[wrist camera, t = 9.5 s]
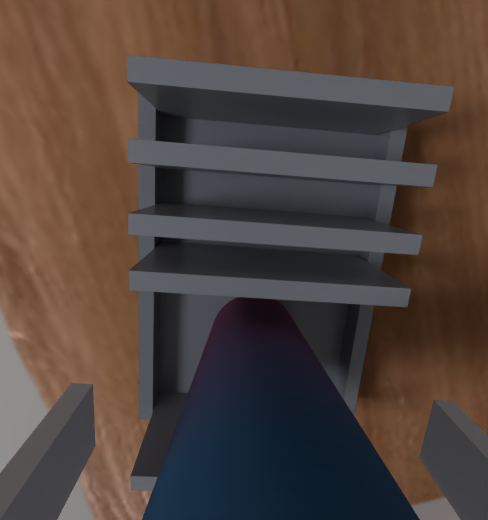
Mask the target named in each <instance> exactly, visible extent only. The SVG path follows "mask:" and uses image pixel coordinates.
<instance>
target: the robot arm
mask: <svg viewBox="0 0 488 520" xmlns="http://www.w3.org/2000/svg"><path fill="white" fill-rule="evenodd" d="M94 447H95V427H94V403H93V384H77V383H71V385H70V386H69V387H68V388H67V390H66V391H65V392H64V394H63V395H62V396H61V397H60V399H59V400H58V401H57V402H56V404H55V405H54V406H53V407H52V409H51V410H50V411H49V412H48V414H47V415H46V416H45V417H44V419H43V420H42V421H41V423H40V424H39V425H38V426H37V428H36V429H35V430H34V431H33V433H32V434H31V435H30V436H29V438H28V439H27V440H26V442H25V443H24V444H23V445H22V447H21V448H20V449H19V450H18V452H17V453H16V454H15V455H14V457H13V458H12V459H11V460H10V462H9V463H8V464H7V465H6V467H5V468H4V469H3V470H2V472H1V473H0V520H57V519H58V517H59V515H60V513H61V511H62V509H63V507H64V505H65V503H66V501H67V499H68V497H69V495H70V493H71V491H72V490H73V488H74V486H75V484H76V482H77V480H78V478H79V476H80V474H81V472H82V470H83V468H84V466H85V465H86V463H87V461H88V459H89V457H90V455H91V453H92V451H93V449H94ZM419 458H420V459H421V461H422V462H423V464H424V465H425V467H426V468H427V470H428V471H429V473H430V474H431V476H432V477H433V479H434V480H435V482H436V483H437V485H438V486H439V488H440V489H441V491H442V492H443V494H444V495H445V497H446V498H447V500H448V501H449V503H450V504H451V506H452V507H453V509H454V510H455V512H456V513H457V515H458V516H459V518H460V519H461V520H488V436H487V435H486V434H485V433H484V432H483V431H482V430H481V429H480V428H479V427H478V426H477V425H476V424H475V423H474V422H473V421H472V420H471V419H470V418H469V417H468V416H467V415H466V414H465V413H464V412H463V411H462V410H461V409H460V408H459V407H458V406H457V405H456V404H455V403H454V402H453V401H443V400H434V402H433V406H432V410H431V414H430V418H429V422H428V426H427V430H426V433H425V437H424V441H423V445H422V449H421V453H420V457H419Z"/></svg>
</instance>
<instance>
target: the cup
mask: <svg viewBox="0 0 488 520" xmlns="http://www.w3.org/2000/svg"><path fill="white" fill-rule="evenodd" d="M142 520H420V519H419V518H418V516H417V515H416V513H415V512H414V510H413V508H412V507H411V505H410V504H409V502H408V500H407V499H406V497H405V496H404V494H403V493H402V491H401V489H400V488H399V486H398V485H397V483H396V481H395V480H394V478H393V477H392V475H391V474H390V472H389V470H388V469H387V467H386V466H385V464H384V463H383V461H382V459H381V458H380V456H379V455H378V453H377V451H376V450H375V448H374V447H373V445H372V444H371V442H370V440H369V439H368V437H367V436H366V434H365V432H364V431H363V429H362V428H361V426H360V425H359V423H358V421H357V420H356V418H355V417H354V415H353V414H352V412H351V410H350V409H349V407H348V406H347V404H346V402H345V401H344V399H343V398H342V396H341V395H340V393H339V391H338V390H337V388H336V387H335V385H334V383H333V382H332V380H331V379H330V377H329V376H328V374H327V372H326V371H325V369H324V368H323V366H322V365H321V363H320V361H319V360H318V358H317V357H316V355H315V353H314V352H313V350H312V349H311V347H310V346H309V344H308V342H307V341H306V339H305V338H304V336H303V334H302V333H301V331H300V330H299V328H298V327H297V325H296V323H295V322H294V320H293V319H292V317H291V316H290V314H289V312H288V311H287V310H286V309H285V307H284V306H283V305H282V304H280V303H279V302H278V301H277V300H275V299H264V298H247V297H237V298H235V299H233V300H231V301H229V302H228V303H227V304H226V305H224V306H223V307H222V309H221V310H220V311H219V312H218V314H217V316H216V318H215V320H214V323H213V325H212V328H211V331H210V334H209V337H208V339H207V342H206V345H205V348H204V350H203V353H202V356H201V359H200V361H199V364H198V367H197V370H196V372H195V375H194V378H193V381H192V383H191V386H190V389H189V392H188V394H187V397H186V400H185V403H184V406H183V408H182V411H181V414H180V417H179V419H178V422H177V425H176V428H175V430H174V433H173V436H172V439H171V441H170V444H169V447H168V450H167V452H166V455H165V458H164V461H163V463H162V466H161V469H160V472H159V475H158V477H157V480H156V483H155V486H154V488H153V491H152V494H151V497H150V499H149V502H148V505H147V508H146V510H145V513H144V516H143V519H142Z"/></svg>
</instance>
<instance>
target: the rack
mask: <svg viewBox="0 0 488 520" xmlns="http://www.w3.org/2000/svg"><path fill="white" fill-rule="evenodd" d="M127 82H128V83H129V84H130V85H131V86H132V87H133V88H134V89H136V90H137V91H138V108H139V139H128V163H134V164H139V210H137V211H134V212H131V213H128V226H129V235H139V262H138V263H137V264H136V265H135V266H134V267H132V268H131V269H130V270H129V290H133V291H139V419H150V422H149V425H148V428H147V431H146V434H145V436H144V439H143V442H142V445H141V448H140V451H139V454H138V457H137V460H136V462H135V465H134V468H133V471H132V474H131V490H147V491H153V488H154V486H155V483H156V480H157V477H158V475H159V472H160V469H161V466H162V463H163V461H164V458H165V455H166V452H167V450H168V447H169V444H170V441H171V439H172V436H173V433H174V430H175V428H176V425H177V422H178V419H179V417H180V414H181V411H182V408H183V406H184V403H185V400H186V397H187V394H188V392H189V389H190V386H191V383H192V381H193V378H194V375H195V372H196V370H197V367H198V364H199V361H200V359H201V356H202V353H203V350H204V348H205V345H206V342H207V339H208V337H209V334H210V331H211V328H212V325H213V323H214V320H215V318H216V316H217V314H218V312H219V311H220V310H221V309H222V307H223V306H224V305H226V304H227V303H228V302H229V301H231V300H233V299H235V298H237V297H247V298H264V299H275V300H277V301H278V302H279V303H280V304H282V305H283V306H284V307H285V309H286V310H287V311H288V312H289V314H290V316H291V317H292V319H293V320H294V322H295V323H296V325H297V327H298V328H299V330H300V331H301V333H302V334H303V336H304V338H305V339H306V341H307V342H308V344H309V346H310V347H311V349H312V350H313V352H314V353H315V355H316V357H317V358H318V360H319V361H320V363H321V365H322V366H323V368H324V369H325V371H326V372H327V374H328V376H329V377H330V379H331V380H332V382H333V383H334V385H335V387H336V388H337V390H338V391H339V393H340V395H341V396H342V398H343V399H344V401H345V402H346V404H347V406H348V407H349V409H350V410H351V412H352V414H353V415H354V412H355V407H356V402H357V396H358V391H359V386H360V380H361V375H362V370H363V364H364V359H365V354H366V348H367V343H368V337H369V332H370V327H371V321H372V316H373V311H374V305H378V306H394V307H408V302H409V297H410V292H411V288H409V287H408V286H406V285H404V284H403V283H401V282H399V281H398V280H396V279H394V278H393V277H391V276H390V275H388V274H386V273H385V272H383V271H381V268H382V262H383V257H384V253H398V254H412V255H419V250H420V246H421V241H422V236H423V235H422V234H418V233H415V232H411V231H408V230H404V229H401V228H397V227H394V226H390V220H391V214H392V209H393V204H394V198H395V193H396V187H397V186H414V187H433V185H434V180H435V175H436V171H437V166H438V165H434V164H422V163H410V162H401V161H402V155H403V150H404V145H405V139H406V134H407V129H408V125H409V124H412V123H415V122H419V121H422V120H425V119H428V118H431V117H434V116H438V115H441V114H444V113H447V112H449V110H450V105H451V100H452V95H453V91H454V87H449V86H439V85H428V84H418V83H408V82H398V81H387V80H377V79H367V78H357V77H346V76H336V75H326V74H316V73H305V72H295V71H285V70H275V69H265V68H254V67H244V66H234V65H224V64H213V63H203V62H193V61H183V60H172V59H162V58H152V57H142V56H132V55H127Z"/></svg>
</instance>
